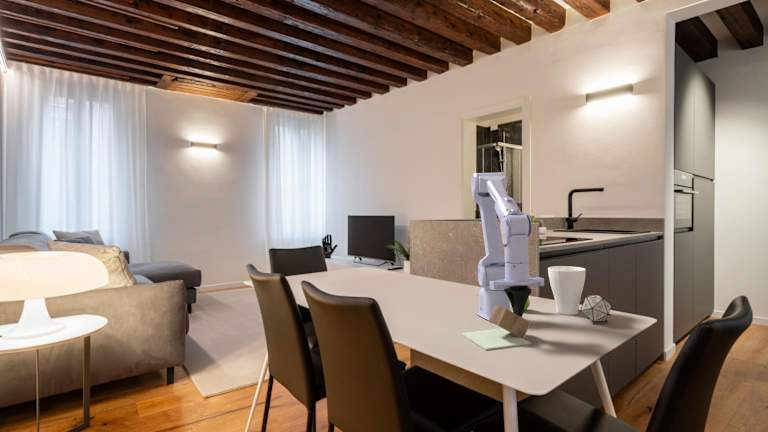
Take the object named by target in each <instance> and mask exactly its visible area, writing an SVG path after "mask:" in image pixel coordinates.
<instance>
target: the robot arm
mask: <svg viewBox="0 0 768 432" xmlns="http://www.w3.org/2000/svg"><path fill="white" fill-rule="evenodd" d="M470 188H471V189H470V190H471V197H472V201H473V202H474V203H476V204H477V205H478V208H479V212H480V219H481V220H480V221H481V229H482V236H483V243H484V250H485V251H484V252H485V256H484V257H482V259H480V260H479V262H478V264H477V279H478V283H479V286H480V287H481V289H480V290H479V292H478V309H479V310H478V311H479V312H476V315H477V316H479V317H481V318H483V319H485V320H487V321H489V319H490V317H491V315H492V312H493V310H494V308H495V306H496V305H498V306H501V307H503V308H506V309H508V310H509V311H511V309H512V312H513V313H515V314H517V315H518V316H520V317H522V318H523V317H524V316H523V315H524V311H525V310H524V307H525V304H526V301H527V299H528V298H529V297H530V296H531V294H532V288H528V287H529V286H530V287H538V286H539V287H544V286H545V278H544V277H540V276H538V277H535V276H534V277H532V278H529V276H530V269H529V268H530V265H529V263H530V262H529V261H530V260H529V259H530V258H529V257H530V256H529V237H530V236H531V234H532V231H533V222H532V219H531V216H530V215H529V214H528V213H525V212H522V211H521V209H520V207H519V205H518V204H517V202H516V200H515V199H514V198H513V197H511V196H509V195H508V192H507V188H508V177H507V174H506V173H505V172H504V171H501V172H500V171H499V172H474V173H473V174H472V175H471V179H470ZM498 219H499V221H500V225H499V222H498ZM499 228H500V229H499ZM500 233H501V234H500ZM501 240H502V241H501ZM502 244H503V247H504V249H502ZM503 251H504V254H503Z"/></svg>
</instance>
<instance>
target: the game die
mask: <svg viewBox="0 0 768 432" xmlns="http://www.w3.org/2000/svg"><path fill="white" fill-rule="evenodd" d="M583 296H584V300H582V301H581V302H582V305H581V307H580V309H579V310H578V312H581V313H582V314H583V315H584V316H586V319H587V320H591V321H592V325H595V324H596V322H601V321H602V322H603V321H605V322H606V323H609V321H608V320H607V319H608V317H611V316H612V315H611V314H610V313H611V309H612V307H615V305H614V304H611V303H609V302H608V300H606V296H603V297H602V296H600V293H599V292H597V293H596V295H594V294H593V295H587V294H585V293H584V294H583Z"/></svg>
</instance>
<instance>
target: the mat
mask: <svg viewBox="0 0 768 432" xmlns="http://www.w3.org/2000/svg"><path fill="white" fill-rule="evenodd" d="M460 334H461V336H463V337H465V338H466V339H467V340H469V341H470V342H472V343H473V344H475V346H478V347H479V348H481V349H483V350H484V351H490V350H491V351H493V350H497V349H498V350H499V349H500V350H501V349H505V348H506V349H507V348H512V347H521V346H527V345H531V344H532V343H531V342H530V341H528V340H526V339H525V338H524V339H522V338H520V337H518V336H516V335H514V334H512V333H510V332H509V331H507V330H505V329H503V328H501V327H499V328H493V329H485V330H477V331H470V332H469V331H468V332H461V333H460Z"/></svg>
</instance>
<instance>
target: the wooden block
mask: <svg viewBox="0 0 768 432" xmlns="http://www.w3.org/2000/svg"><path fill="white" fill-rule="evenodd" d="M488 321H489V322H491V324H494V325H496V326H498V327H499V328H503V329H505V330H507V331H509V332H510V333H512V334H514V335H516V336H518V337H520V338H522V339H524V340H525V336H526V334H527V332H528V330H529V328H530V326H531V324H532V322H530V321H529V320H528V319H525V318H523V316H522V317H520V316H518V315H517V314H515V313H513V311H512V310H510V311H509V310H508V309H506V308H503V307H501V306H498V305H496V306H495V308H494V310H493V312H492V315H491V317H490V319H489V320H488Z"/></svg>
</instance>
